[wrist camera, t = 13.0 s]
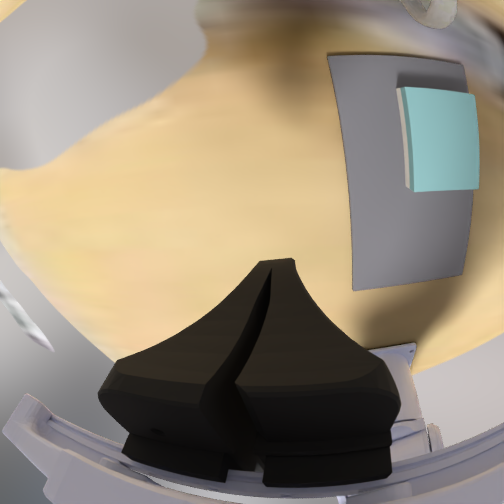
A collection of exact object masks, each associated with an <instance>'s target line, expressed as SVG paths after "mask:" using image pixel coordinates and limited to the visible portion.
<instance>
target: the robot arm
mask: <svg viewBox="0 0 504 504" xmlns="http://www.w3.org/2000/svg"><path fill="white" fill-rule="evenodd" d="M416 347H417V346H416V343H409V344H403V345H398V346H392V347H386V348H380V349H373V350H366V349H364V348H363V347H361V346H360V345H359V344H357V343H356V342H355V341H353V340H352V339H351V338H349V337H348V336H347V335H346V334H345V333H344V332H343V331H342V330H340V329H339V328H338V327H337V326H336V325H335V324H334V323H333V322H332V321H331V320H330V319H329V318H328V317H327V316H326V315H325V314H324V313H323V312H322V310H321V309H320V308H319V307H318V306H317V304H316V303H315V302H314V300H313V299H312V297H311V296H310V294H309V293H308V291H307V290H306V288H305V287H304V285H303V283H302V281H301V279H300V277H299V275H298V273H297V270H296V266H295V260H294V259H292V258H285V259H275V260H266V261H259V263H258V264H257V265H256V266H255V267H254V268H253V269H252V270H251V272H250V273H249V274H248V275H247V276H246V277H245V278H244V279H243V281H242V282H241V283H240V284H239V285H238V286H237V287H236V288H235V289H234V290H233V291H232V292H231V293H230V294H229V295H228V296H227V297H226V298H225V299H224V300H223V301H222V302H221V303H219V304H218V305H217V306H216V307H215V308H214V309H212V310H211V311H210V312H209V313H207V314H206V315H205V316H203V317H202V318H201V319H199V320H198V321H196V322H195V323H193V324H192V325H190V326H189V327H187V328H185V329H184V330H182V331H181V332H179V333H178V334H176V335H174V336H172V337H170V338H168V339H167V340H165V341H163V342H161V343H159V344H157V345H154V346H152V347H150V348H148V349H146V350H143V351H141V352H138V353H135V354H133V355H130V356H127V357H125V358H122V359H119V360H117V361H116V363H115V364H114V366H113V368H112V369H111V371H110V373H109V374H108V376H107V378H106V380H105V381H104V383H103V385H102V386H101V388H100V390H99V392H98V398H99V401H100V403H101V405H102V406H103V408H104V409H105V410H106V411H107V412H108V413H109V414H110V415H111V416H112V417H113V418H114V419H115V420H116V421H117V422H118V423H119V424H120V425H121V426H122V427H124V428H125V429H126V430H127V431H128V432H129V435H128V438H127V440H126V442H125V445H122V444H120V443H117V442H114V441H111V440H109V439H106V438H104V437H101V436H99V435H96V434H94V433H91V432H89V431H87V430H85V429H82V428H80V427H78V426H76V425H74V424H72V423H70V422H68V421H66V420H64V419H62V418H60V417H58V416H56V415H54V414H53V413H52V412H51V411H50V410H49V409H48V408H47V407H46V406H45V405H44V404H43V403H42V402H40V401H39V400H38V399H36V398H34V397H33V396H31V395H29V394H27V393H26V394H25V395H24V396H23V398H22V399H21V401H20V402H19V404H18V405H17V407H16V409H15V410H14V412H13V414H12V415H11V417H10V418H9V420H8V422H7V423H6V425H5V426H4V428H3V430H2V432H3V434H4V435H5V436H6V437H7V438H8V439H9V440H10V441H11V442H12V443H13V444H14V445H15V446H16V447H17V448H18V449H19V450H20V451H21V452H22V453H23V454H24V455H25V456H26V457H27V458H28V459H29V460H30V461H31V462H32V463H33V464H34V465H35V466H36V467H37V468H38V469H39V470H40V471H41V472H42V473H43V474H44V475H45V476H46V477H47V478H48V480H47V482H46V484H45V486H44V488H43V492H44V494H45V496H46V497H47V498H48V499H49V500H50V501H51V502H52V503H53V504H240V503H234V502H227V501H221V500H216V499H211V498H206V497H201V496H197V495H192V494H188V493H184V492H180V491H176V490H172V489H169V488H165V487H163V486H161V485H159V484H158V483H156V482H154V481H152V480H151V479H150V478H148V477H147V476H145V475H142V474H140V473H138V472H141V473H143V474H146V475H150V476H153V477H156V478H160V479H163V480H166V481H170V482H173V483H177V484H181V485H186V486H190V487H194V488H199V489H204V490H209V491H215V492H221V493H227V494H234V495H243V496H253V497H267V498H323V497H337V499H338V502H339V504H502V503H504V423H502V424H500V425H498V426H496V427H494V428H492V429H490V430H488V431H486V432H484V433H481V434H479V435H477V436H475V437H472V438H470V439H467V440H465V441H462V442H460V443H457V444H454V445H452V446H449V447H446V448H444V446H443V441H442V437H441V433H440V429H439V427H438V426H436V425H433V423H431V424H428V425H427V429H428V436H427V432H426V427H425V422H424V418H422V413H421V409H420V405H419V401H418V397H417V393H416V389H415V386H414V382H413V378H412V375H411V371H410V366H411V363H412V360H413V357H414V354H415V351H416ZM428 438H429V441H428ZM429 444H430V445H429ZM131 469H132V470H131ZM133 470H135V471H138V472H135V471H133Z"/></svg>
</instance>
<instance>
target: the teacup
mask: <svg viewBox="0 0 504 504" xmlns="http://www.w3.org/2000/svg"><path fill="white" fill-rule="evenodd" d="M398 1H400V2H401V3H403V5H404V7H405V8H406V10H407V11H408V13H409V14H410V15H411V16H412V17H413V18H414V19H415V20H416V21H417V22H419V23H421V24H422V25H424V26H427V27H431V28H435V29H443V28H446V27H448V26H449V25H450V24H451V23H452V22H453V20H454V18H455V16H456V13H457V0H431V3H430V6H429V8H428V9H427V11H426V9H425V8H424V6H423V5H422V3H421V2H420V0H398Z"/></svg>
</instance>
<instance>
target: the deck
mask: <svg viewBox="0 0 504 504" xmlns="http://www.w3.org/2000/svg"><path fill="white" fill-rule="evenodd" d="M396 91H397V97H398V104H399V110H400V118H401V126H402V135H403V146H404V160H405V182H406V187H408V188H409V189H410V190H412V191H413V192H425V191H444V190H469V189H479V132H478V119H477V110H476V102H475V95H473V94H468V93H462V92H455V91H447V90H439V89H429V88H416V87H402V88H397V89H396Z"/></svg>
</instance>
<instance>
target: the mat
mask: <svg viewBox="0 0 504 504" xmlns="http://www.w3.org/2000/svg"><path fill="white" fill-rule="evenodd" d="M327 60H328V64H329V68H330V73H331V77H332V82H333V87H334V92H335V97H336V102H337V108H338V113H339V119H340V125H341V132H342V139H343V146H344V154H345V162H346V171H347V180H348V191H349V204H350V218H351V238H352V289H353V291H359V290H367V289H375V288H383V287H390V286H397V285H404V284H411V283H417V282H424V281H430V280H436V279H442V278H448V277H453V276H459V275H462V272H463V268H464V263H465V257H466V252H467V246H468V239H469V232H470V225H471V216H472V205H473V189H469V190H444V191H425V192H413V191H412V190H410V189H409V188H408V187H406V182H405V160H404V146H403V135H402V126H401V118H400V110H399V104H398V97H397V91H396V89H397V88H402V87H416V88H429V89H439V90H447V91H455V92H462V93H468V94H469V92H468V86H467V81H466V75H465V71H464V66H463V65H460V64H455V63H450V62H444V61H438V60H431V59H423V58H414V57H403V56H387V55H339V56H327Z"/></svg>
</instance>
